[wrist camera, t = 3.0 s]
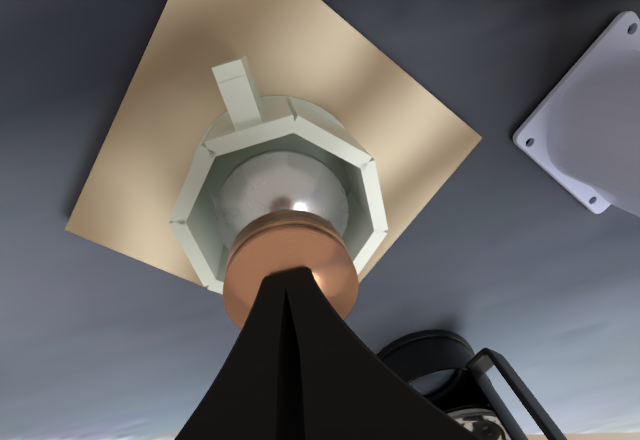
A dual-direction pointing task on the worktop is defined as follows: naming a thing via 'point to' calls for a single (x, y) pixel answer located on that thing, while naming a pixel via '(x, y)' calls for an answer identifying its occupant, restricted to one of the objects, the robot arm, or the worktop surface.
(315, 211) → the plunger
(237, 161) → the faceted mug
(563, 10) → the worktop surface
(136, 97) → the serving board
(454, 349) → the french press
